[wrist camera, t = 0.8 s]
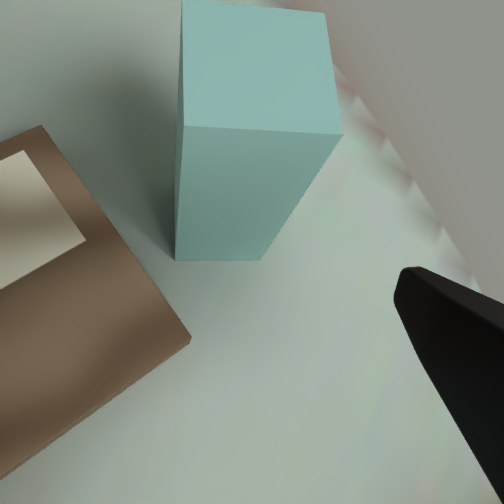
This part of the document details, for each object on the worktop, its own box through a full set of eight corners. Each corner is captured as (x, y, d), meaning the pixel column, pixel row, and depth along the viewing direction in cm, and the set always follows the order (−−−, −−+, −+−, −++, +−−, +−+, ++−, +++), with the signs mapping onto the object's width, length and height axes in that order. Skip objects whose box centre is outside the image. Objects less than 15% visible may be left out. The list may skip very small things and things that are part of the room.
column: (260, 260, 26) (342, 134, 14) (174, 260, 25) (183, 125, 13) (254, 184, 27) (324, 13, 15) (174, 182, 26) (182, -3, 14)
